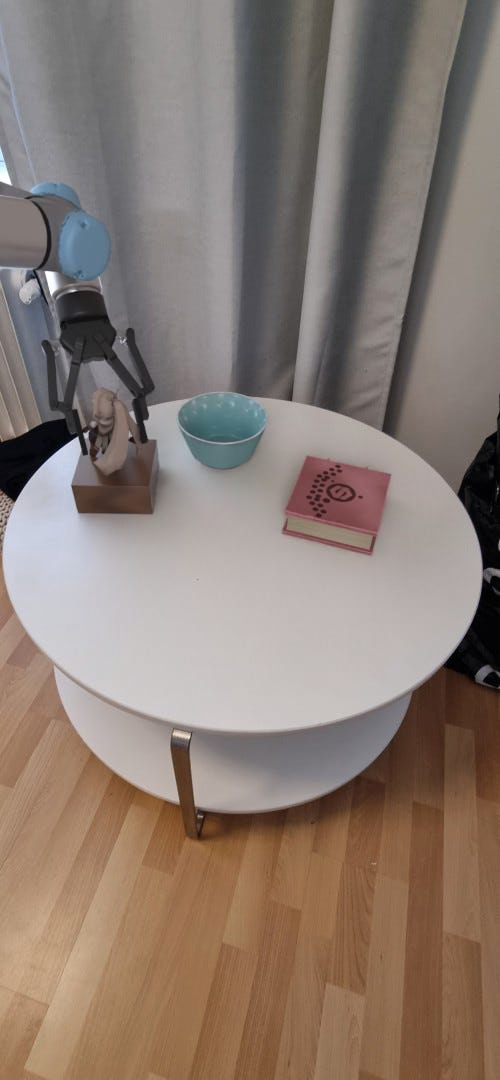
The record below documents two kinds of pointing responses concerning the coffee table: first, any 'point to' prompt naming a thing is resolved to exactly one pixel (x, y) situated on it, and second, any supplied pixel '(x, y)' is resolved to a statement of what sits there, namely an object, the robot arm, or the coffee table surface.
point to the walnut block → (118, 482)
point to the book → (337, 505)
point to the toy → (111, 431)
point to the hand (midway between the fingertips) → (115, 448)
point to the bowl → (222, 427)
